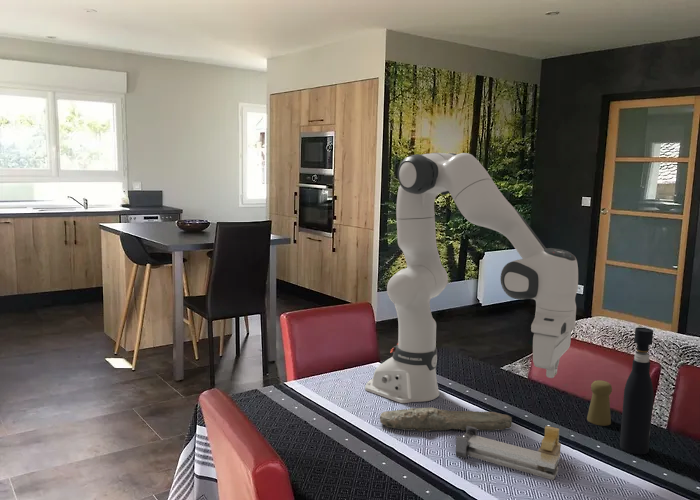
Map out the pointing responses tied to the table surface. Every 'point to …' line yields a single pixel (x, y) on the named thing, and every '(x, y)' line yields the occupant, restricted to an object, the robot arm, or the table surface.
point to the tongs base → (499, 458)
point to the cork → (600, 403)
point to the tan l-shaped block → (550, 438)
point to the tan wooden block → (555, 451)
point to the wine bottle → (638, 398)
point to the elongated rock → (444, 420)
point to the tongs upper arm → (512, 451)
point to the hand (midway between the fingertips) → (551, 375)
